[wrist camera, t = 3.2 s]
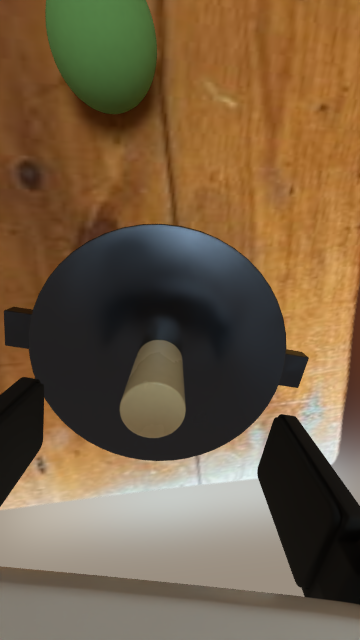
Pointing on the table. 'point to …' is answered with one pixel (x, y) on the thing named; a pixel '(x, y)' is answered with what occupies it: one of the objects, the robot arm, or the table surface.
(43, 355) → the lid
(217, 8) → the table surface
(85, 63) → the ball
